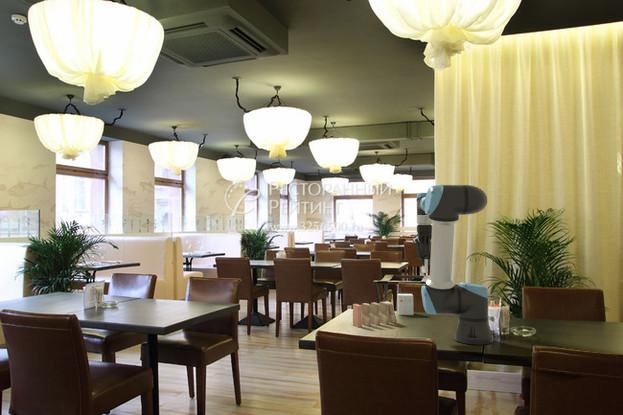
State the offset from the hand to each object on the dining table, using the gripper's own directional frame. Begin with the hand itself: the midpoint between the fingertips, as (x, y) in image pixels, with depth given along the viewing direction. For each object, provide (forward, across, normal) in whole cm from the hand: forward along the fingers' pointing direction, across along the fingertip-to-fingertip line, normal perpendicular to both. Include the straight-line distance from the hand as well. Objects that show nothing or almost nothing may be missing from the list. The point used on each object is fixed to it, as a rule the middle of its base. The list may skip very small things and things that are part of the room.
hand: (424, 272), depth 247 cm
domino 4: (+24, +19, -7) cm, 32 cm away
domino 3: (+24, +24, -7) cm, 35 cm away
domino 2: (+24, +29, -7) cm, 39 cm away
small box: (+25, -4, -22) cm, 33 cm away
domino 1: (+24, +34, -7) cm, 42 cm away
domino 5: (+24, +14, -7) cm, 29 cm away
